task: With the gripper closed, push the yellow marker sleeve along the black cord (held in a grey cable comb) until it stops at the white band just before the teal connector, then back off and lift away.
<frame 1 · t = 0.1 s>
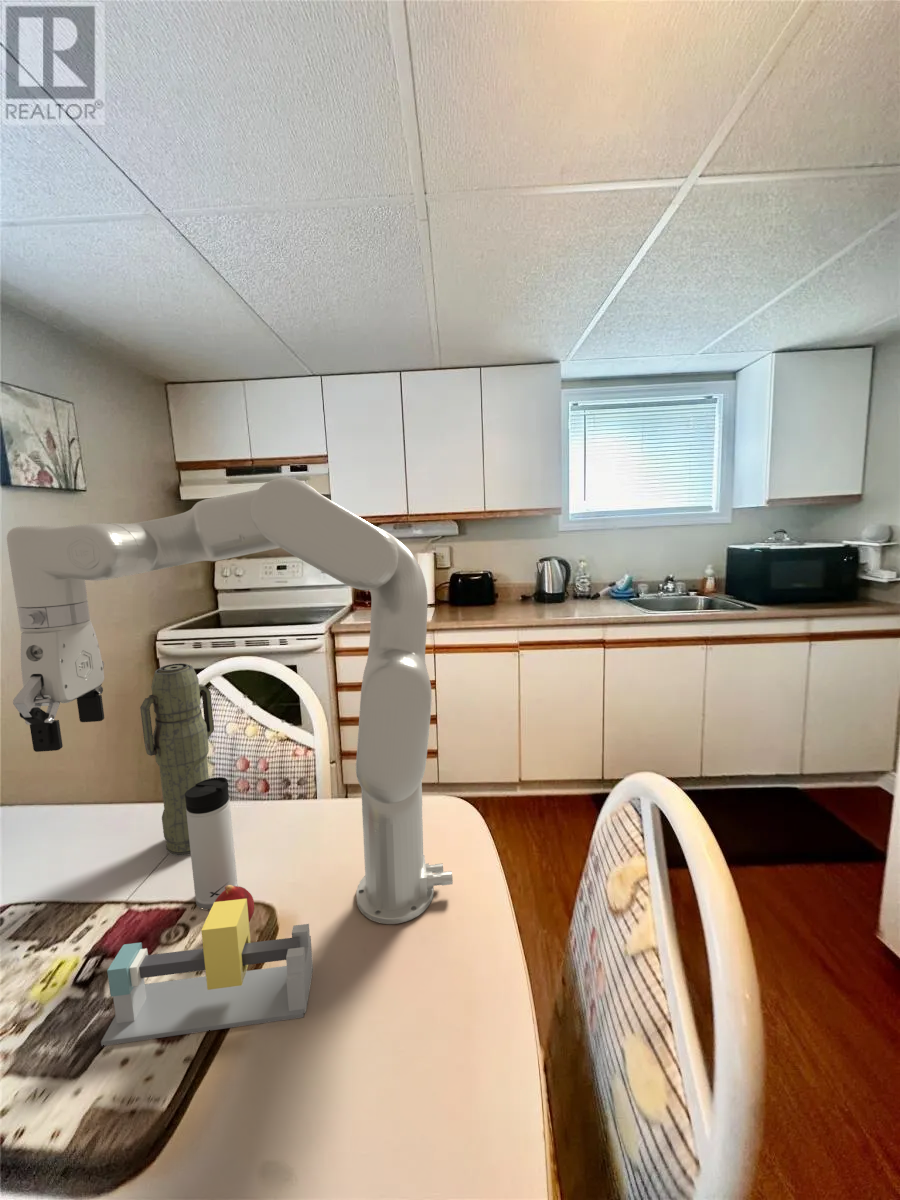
hand: (71, 734, 68), 31 cm above the table, fingers open, 9 cm apart
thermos: (192, 841, 93), on the table
travel mug: (218, 897, 79), on the table
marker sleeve: (227, 942, 60), point 8 cm above the table, slide at 0.0 cm
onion: (235, 933, 72), on the table
cord rig: (216, 1002, 61), on the table
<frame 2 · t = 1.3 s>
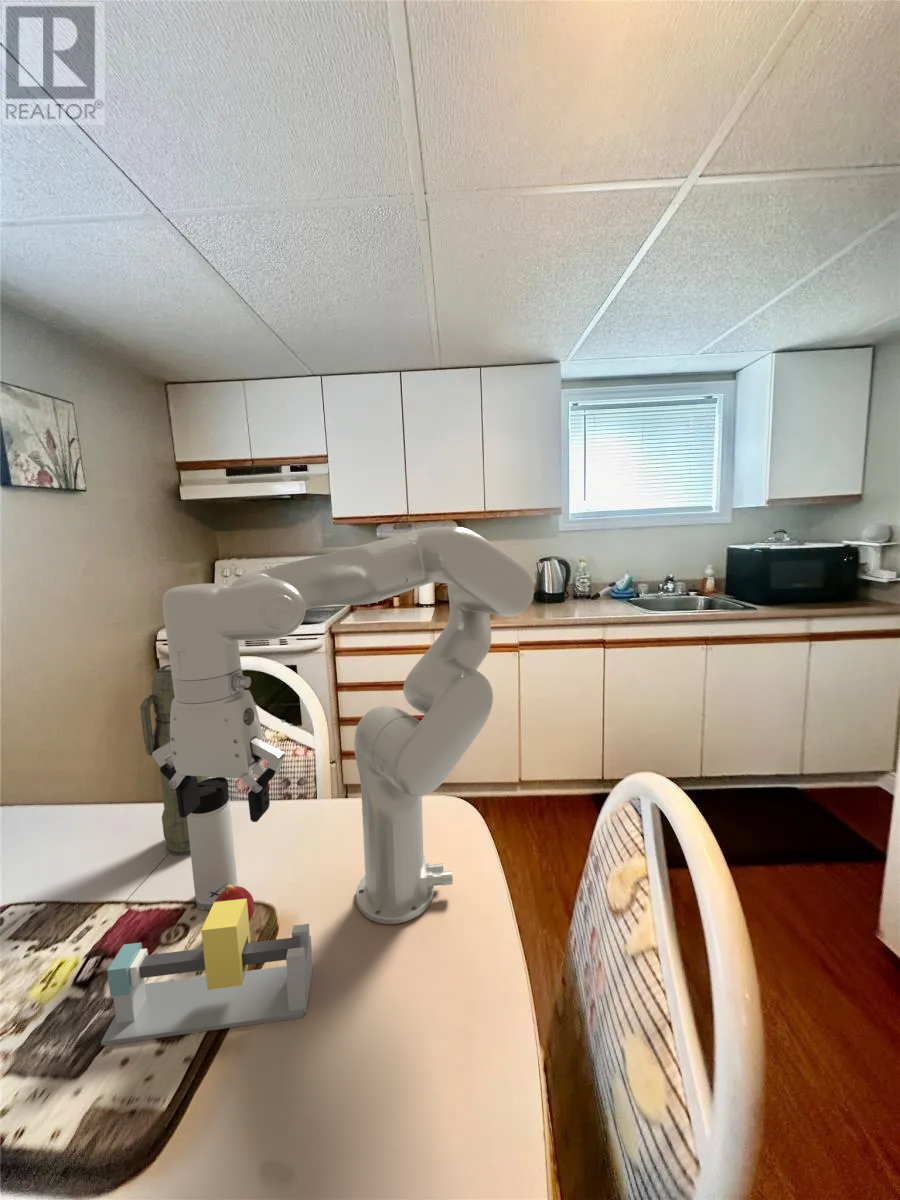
hand: (224, 813, 61), 24 cm above the table, fingers open, 9 cm apart
nothing on the table moved.
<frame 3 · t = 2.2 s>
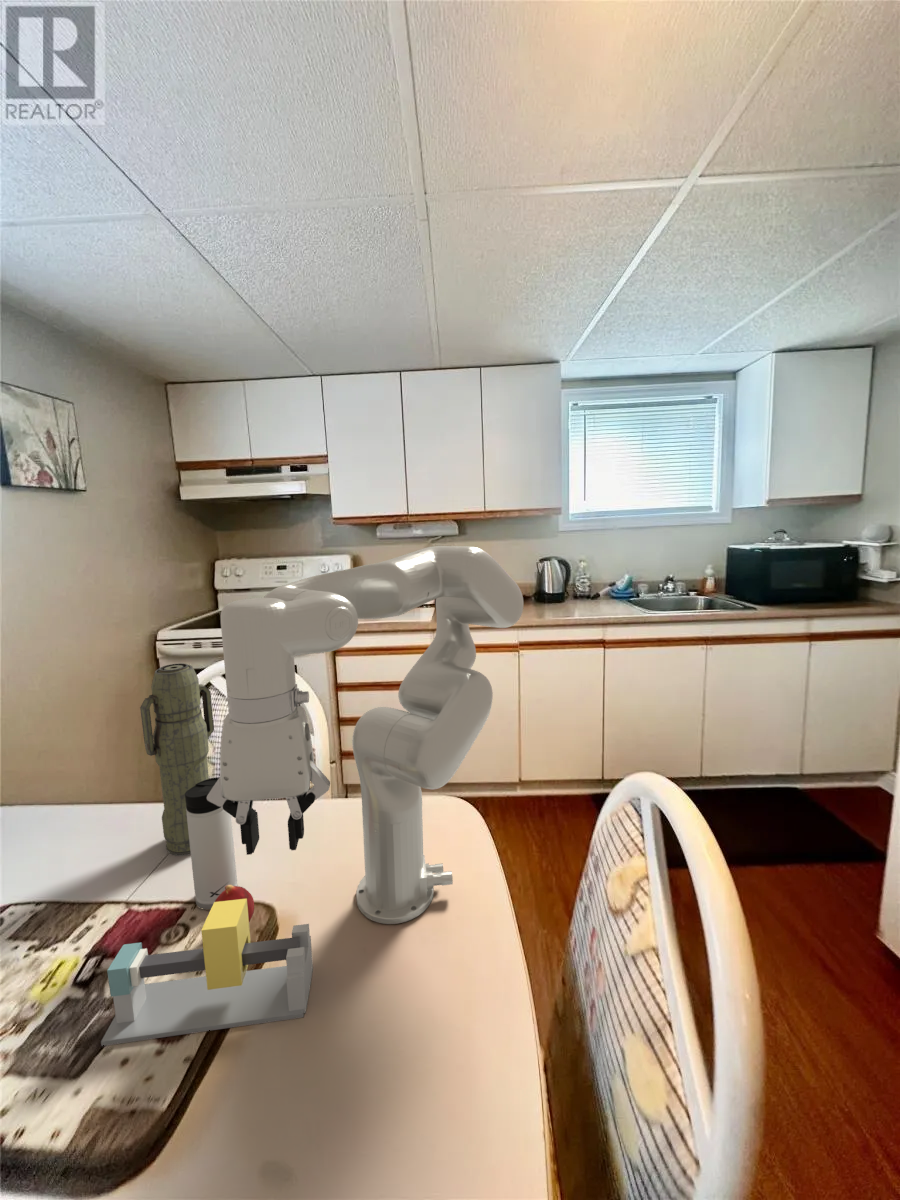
hand: (274, 843, 59), 21 cm above the table, fingers open, 4 cm apart
nothing on the table moved.
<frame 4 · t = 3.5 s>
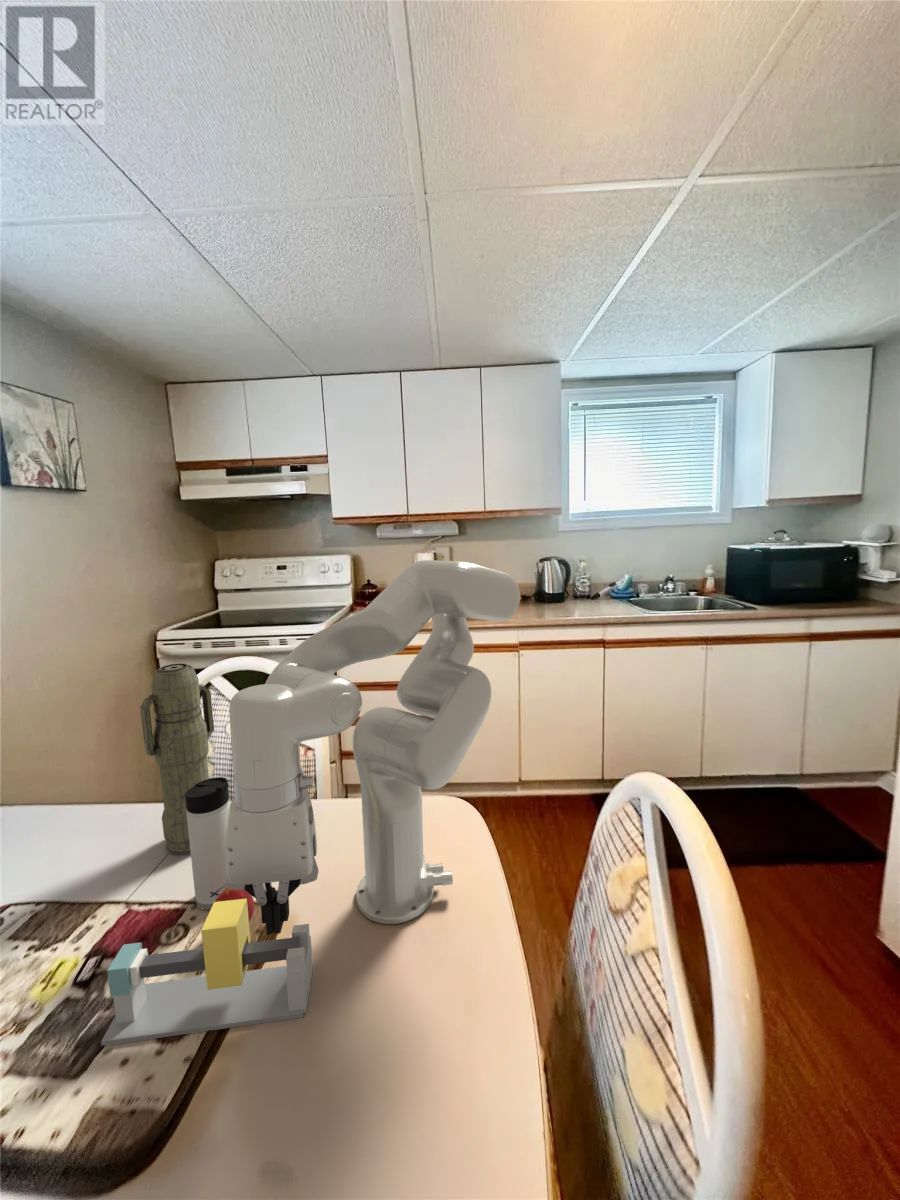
hand: (276, 925, 60), 10 cm above the table, fingers closed
nothing on the table moved.
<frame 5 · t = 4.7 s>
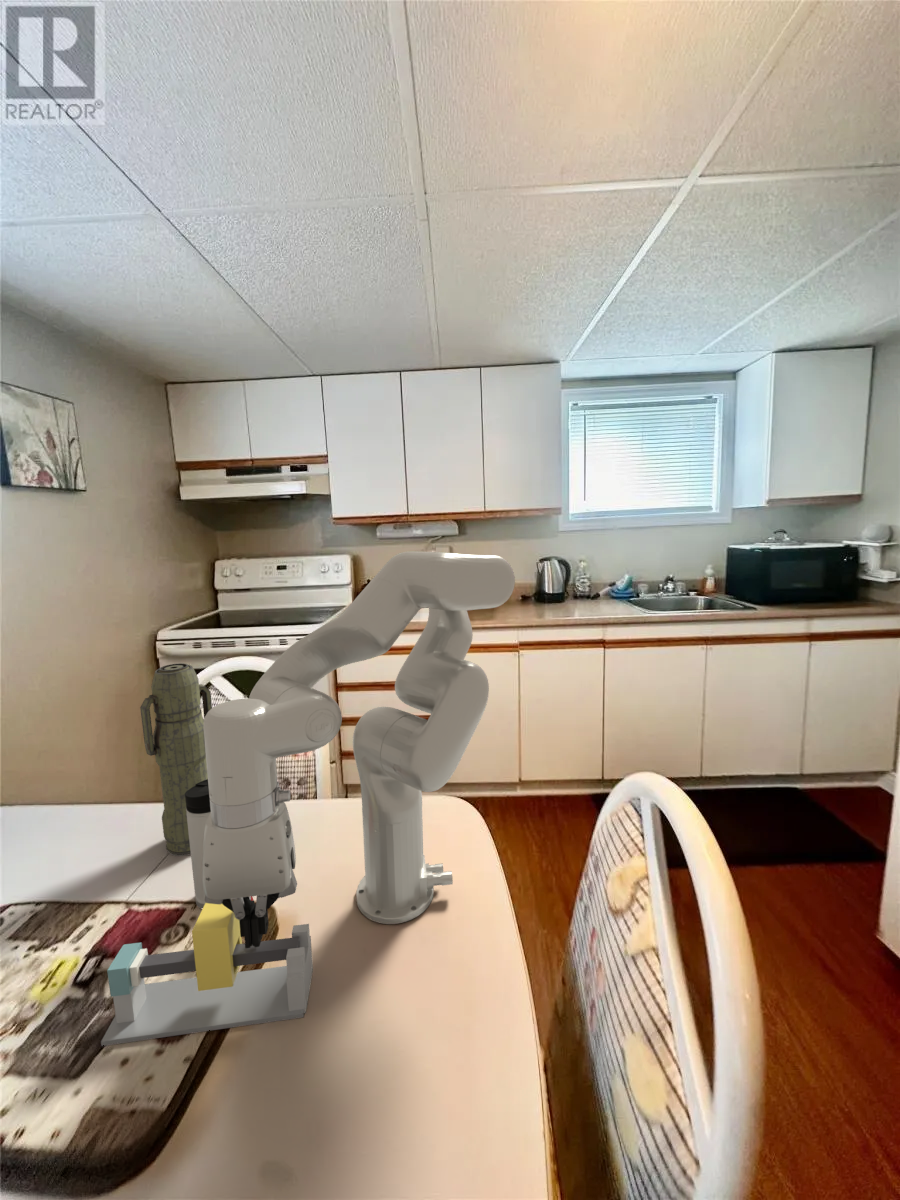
hand: (255, 938, 60), 9 cm above the table, fingers closed
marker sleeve: (218, 943, 60), point 8 cm above the table, slide at 1.1 cm, touching gripper
everything else where it was.
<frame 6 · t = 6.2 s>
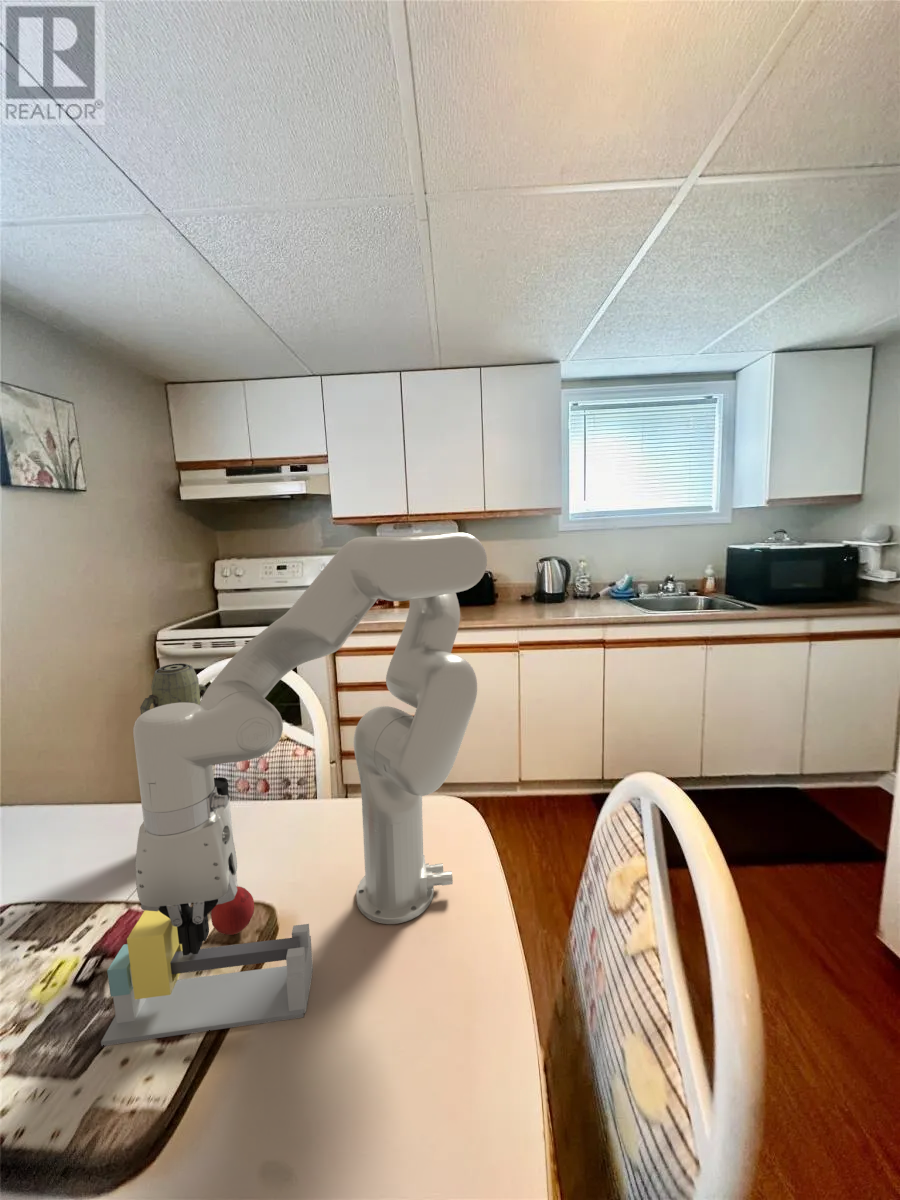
hand: (195, 944, 59), 9 cm above the table, fingers closed
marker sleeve: (157, 951, 59), point 8 cm above the table, slide at 8.2 cm, touching gripper
everything else where it was.
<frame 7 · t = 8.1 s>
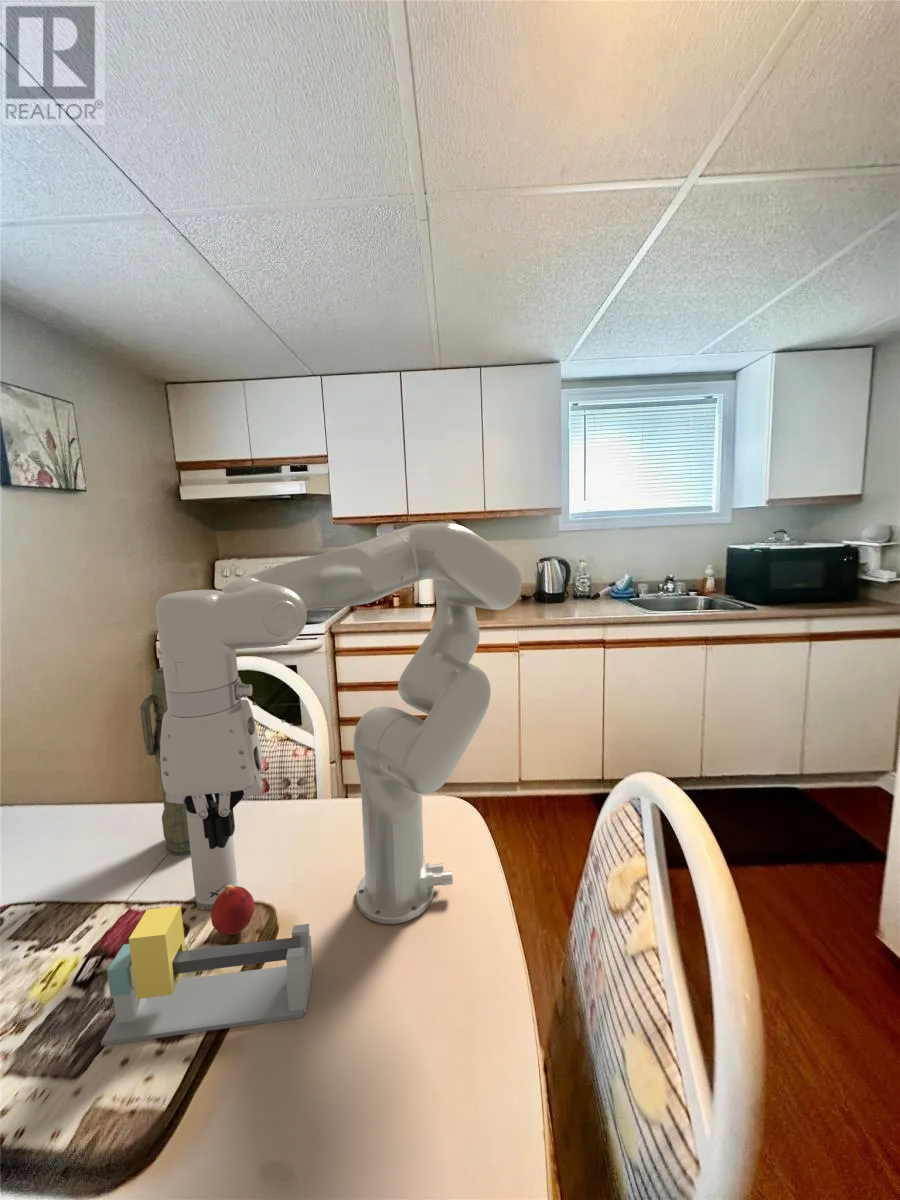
hand: (221, 840, 58), 22 cm above the table, fingers closed
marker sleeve: (159, 951, 59), point 8 cm above the table, slide at 8.0 cm
everything else where it was.
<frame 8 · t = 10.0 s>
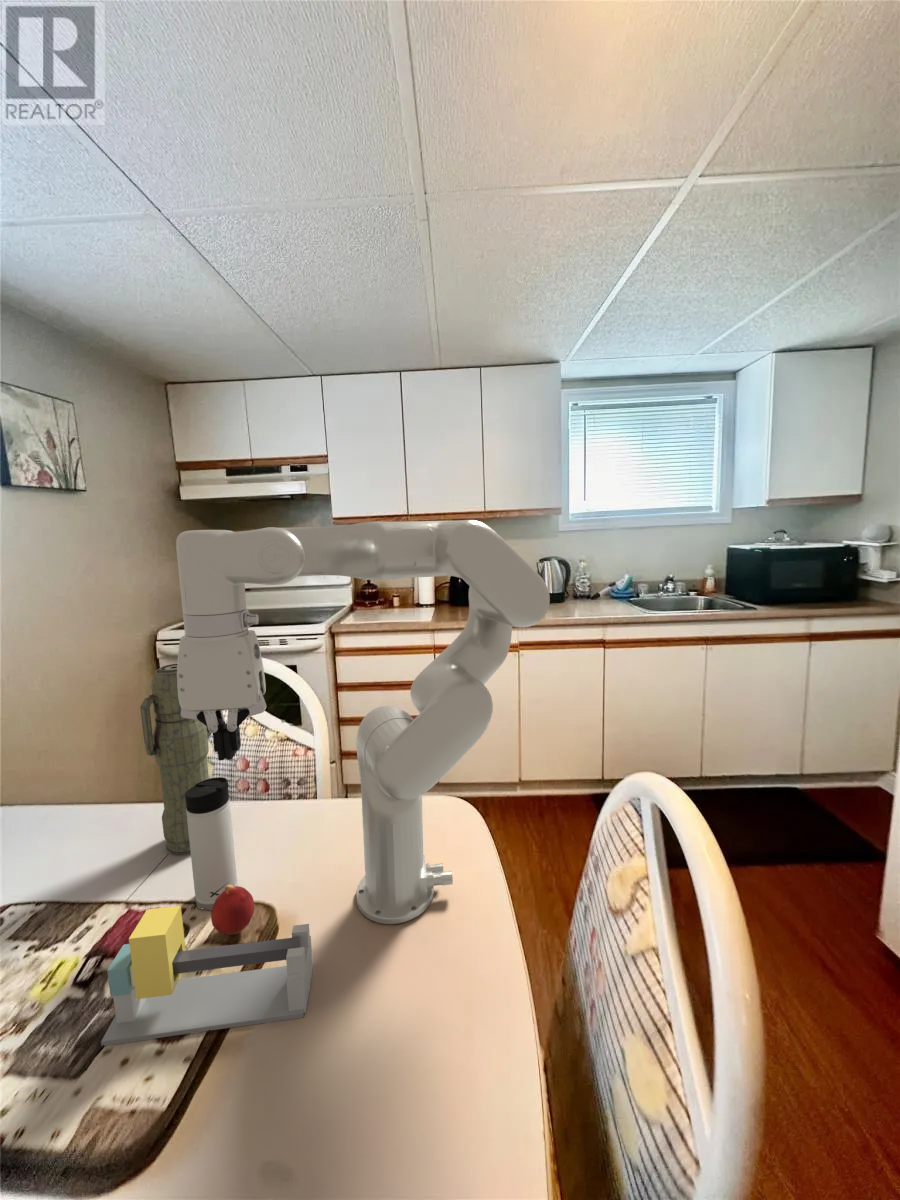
hand: (228, 755, 66), 29 cm above the table, fingers closed
nothing on the table moved.
at the end: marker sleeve slide at 8.0 cm; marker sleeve touching nothing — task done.
